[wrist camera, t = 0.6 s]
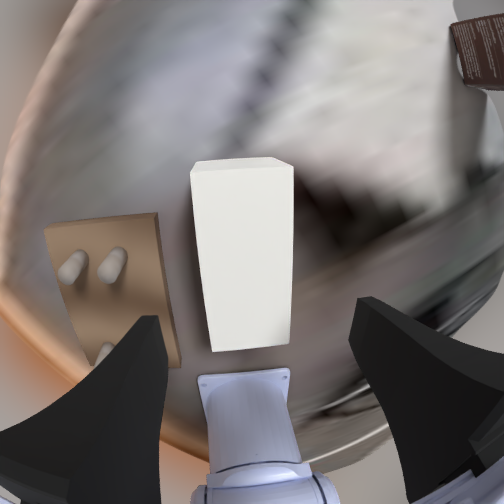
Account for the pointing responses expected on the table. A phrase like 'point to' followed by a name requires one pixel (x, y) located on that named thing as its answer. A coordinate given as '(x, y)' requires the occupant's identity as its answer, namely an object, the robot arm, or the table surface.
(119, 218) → the peg board
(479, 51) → the box
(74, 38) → the table surface
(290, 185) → the white rectangular block
